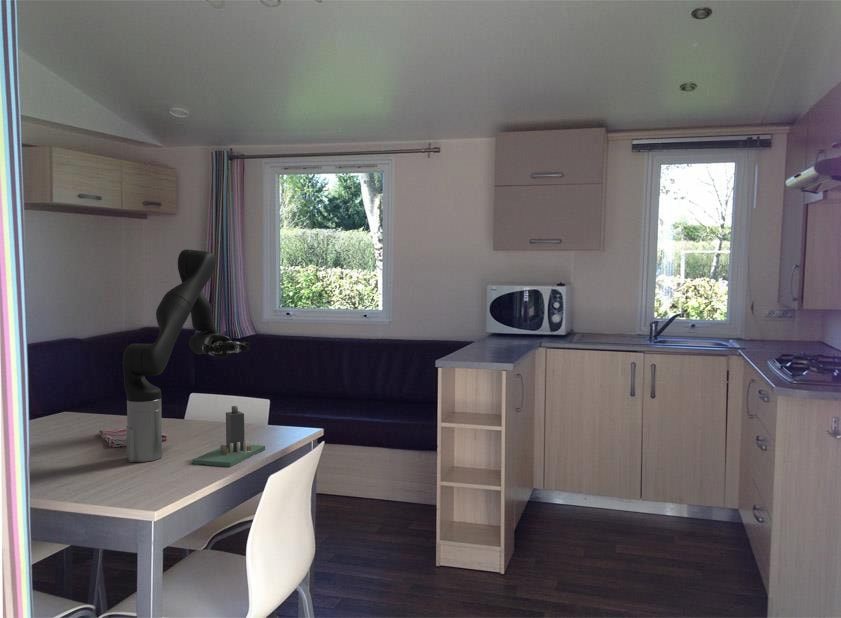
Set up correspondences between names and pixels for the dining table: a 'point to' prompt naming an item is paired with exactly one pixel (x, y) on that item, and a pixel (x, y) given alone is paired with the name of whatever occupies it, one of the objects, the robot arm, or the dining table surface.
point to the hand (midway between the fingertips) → (232, 349)
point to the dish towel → (118, 437)
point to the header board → (228, 455)
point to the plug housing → (234, 428)
